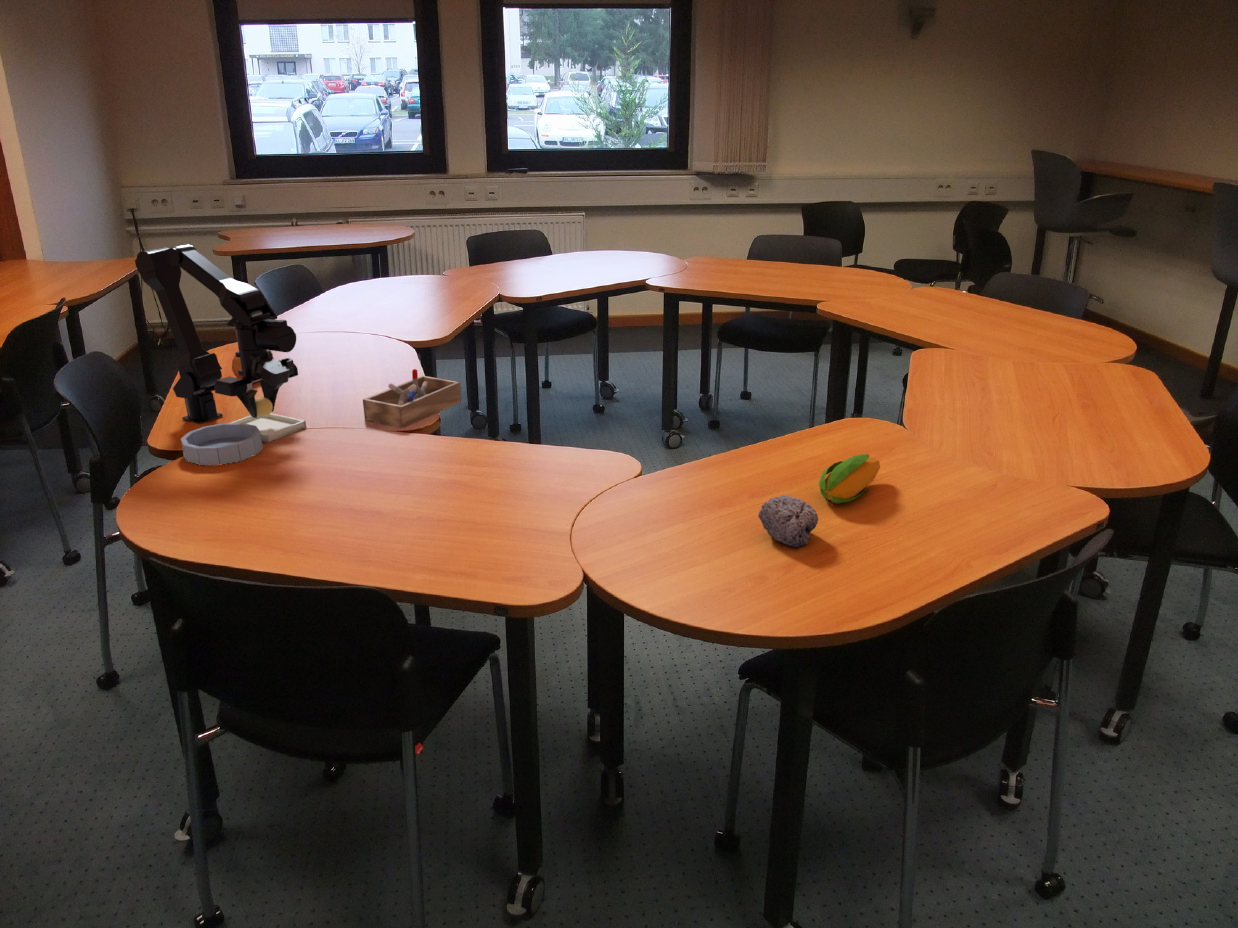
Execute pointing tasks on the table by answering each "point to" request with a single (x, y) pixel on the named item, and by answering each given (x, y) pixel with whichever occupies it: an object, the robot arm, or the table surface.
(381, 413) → the wooden box
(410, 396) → the molecular model
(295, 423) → the tray
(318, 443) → the table surface
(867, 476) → the corn
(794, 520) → the pumice stone
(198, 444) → the bowl
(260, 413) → the ball
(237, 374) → the fruit
